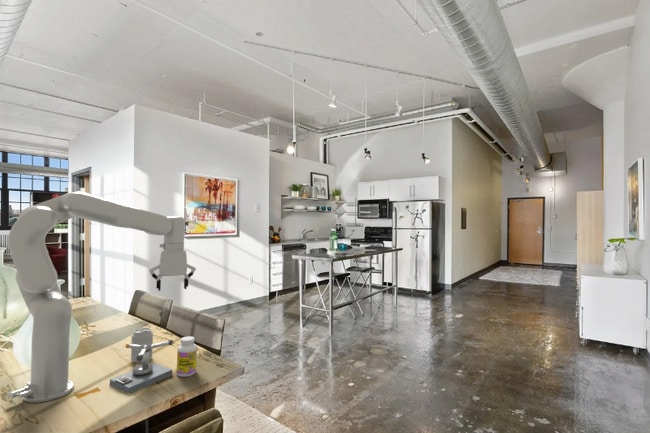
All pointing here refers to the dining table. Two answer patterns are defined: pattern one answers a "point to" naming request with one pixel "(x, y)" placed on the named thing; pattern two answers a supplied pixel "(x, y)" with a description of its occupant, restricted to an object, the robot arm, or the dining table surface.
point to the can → (141, 342)
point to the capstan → (145, 357)
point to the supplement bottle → (186, 357)
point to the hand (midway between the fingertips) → (172, 289)
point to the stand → (140, 379)
